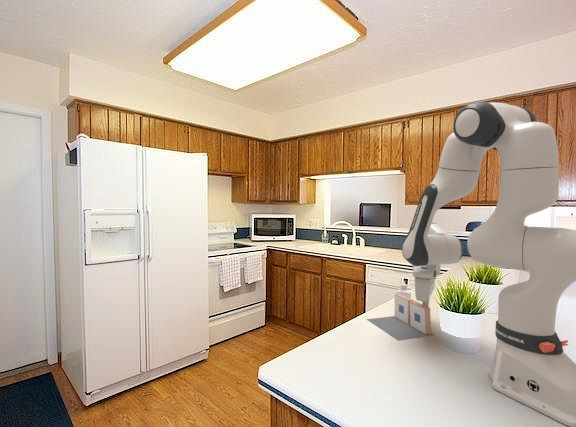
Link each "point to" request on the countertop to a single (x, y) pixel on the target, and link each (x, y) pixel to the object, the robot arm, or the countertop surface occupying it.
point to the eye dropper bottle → (404, 290)
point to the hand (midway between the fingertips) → (425, 307)
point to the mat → (397, 328)
